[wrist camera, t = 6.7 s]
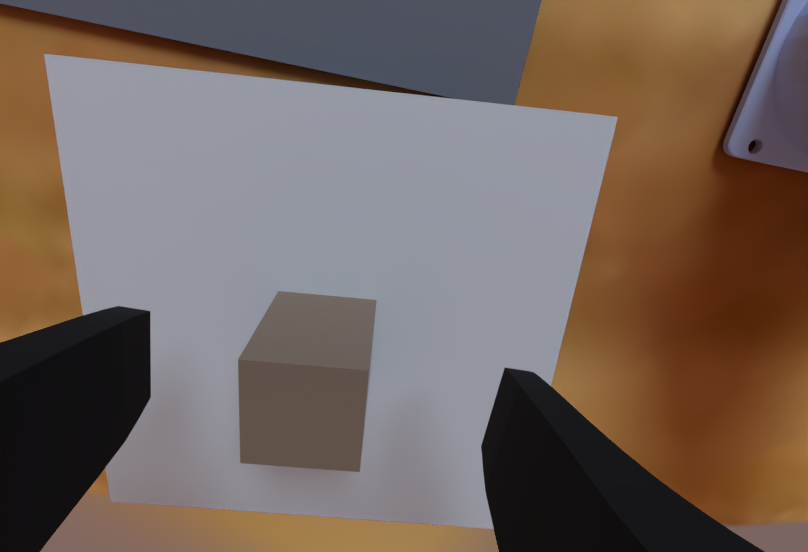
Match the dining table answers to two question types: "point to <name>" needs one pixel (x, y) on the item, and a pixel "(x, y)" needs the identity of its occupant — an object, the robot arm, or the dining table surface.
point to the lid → (321, 279)
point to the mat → (345, 36)
